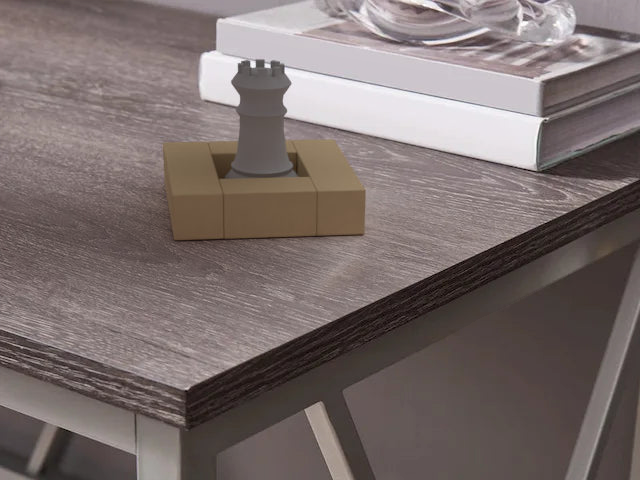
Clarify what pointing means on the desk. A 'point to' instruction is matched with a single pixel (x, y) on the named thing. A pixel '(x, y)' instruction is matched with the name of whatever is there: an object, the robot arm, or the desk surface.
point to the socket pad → (261, 193)
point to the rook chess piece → (261, 122)
